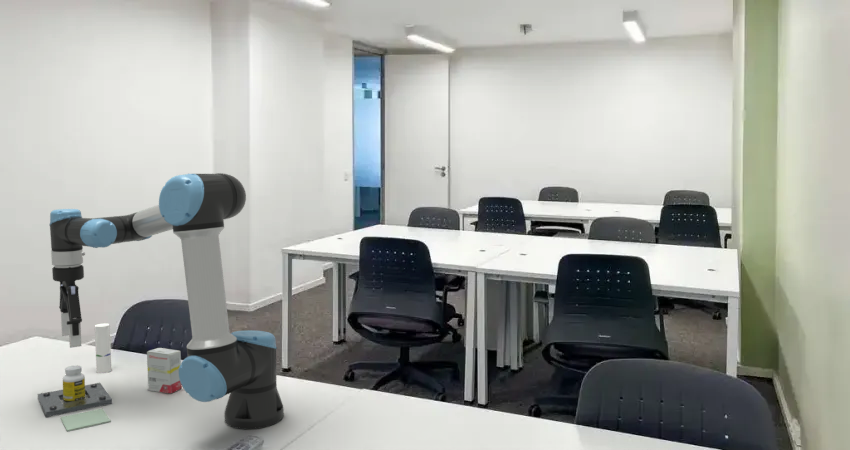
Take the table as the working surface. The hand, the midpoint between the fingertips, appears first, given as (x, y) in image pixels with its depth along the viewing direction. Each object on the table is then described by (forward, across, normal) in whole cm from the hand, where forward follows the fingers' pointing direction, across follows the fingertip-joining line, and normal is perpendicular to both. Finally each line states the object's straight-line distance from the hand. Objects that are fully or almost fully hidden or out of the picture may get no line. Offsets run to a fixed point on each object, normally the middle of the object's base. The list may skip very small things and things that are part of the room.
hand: (71, 340), depth 178 cm
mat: (+17, -17, 0) cm, 24 cm away
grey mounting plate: (+17, -1, 0) cm, 17 cm away
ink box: (+17, -6, -23) cm, 29 cm away
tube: (+17, +22, -12) cm, 31 cm away
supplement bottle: (+17, -1, 0) cm, 17 cm away
